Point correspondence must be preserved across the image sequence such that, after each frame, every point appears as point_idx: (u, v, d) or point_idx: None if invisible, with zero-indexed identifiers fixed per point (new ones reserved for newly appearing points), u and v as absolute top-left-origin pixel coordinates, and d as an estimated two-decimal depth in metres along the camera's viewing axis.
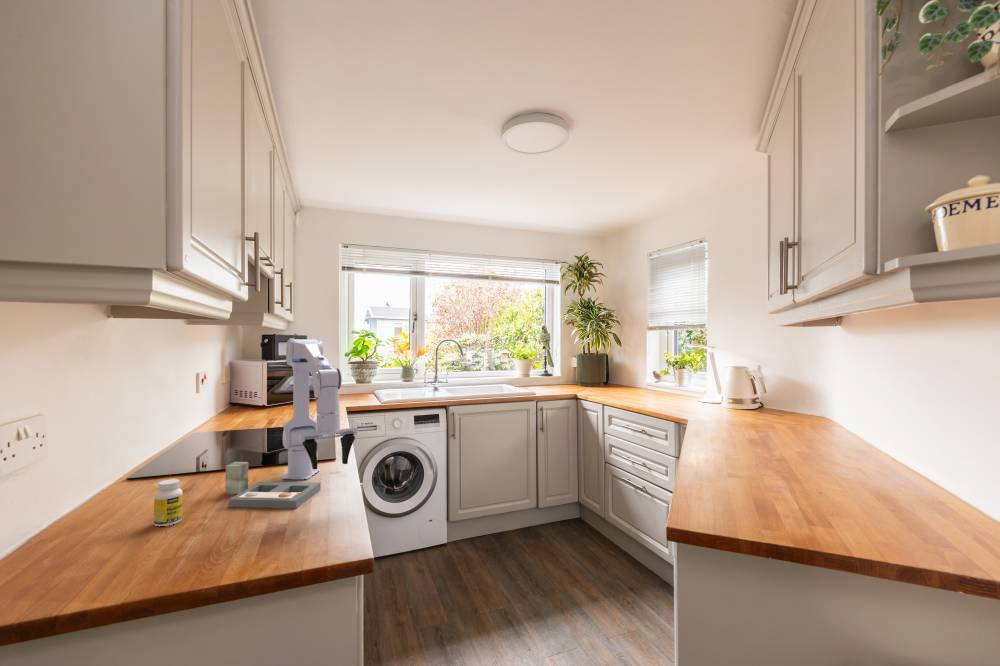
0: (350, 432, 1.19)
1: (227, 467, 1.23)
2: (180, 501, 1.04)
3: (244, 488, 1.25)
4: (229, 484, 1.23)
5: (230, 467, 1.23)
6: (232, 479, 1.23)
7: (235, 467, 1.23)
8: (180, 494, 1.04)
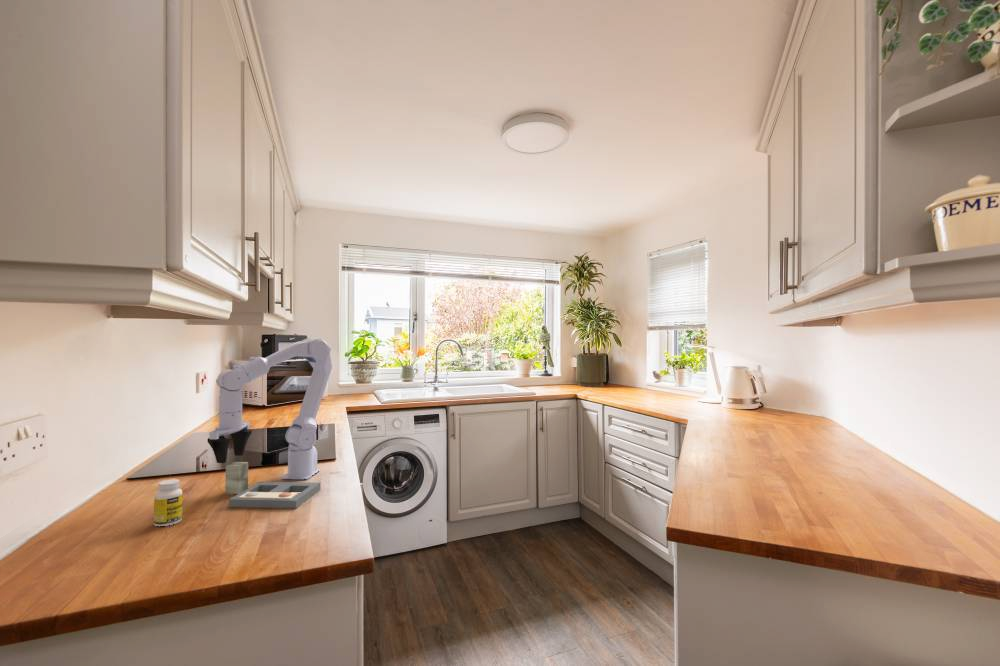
0: None
1: (227, 467, 1.23)
2: (180, 501, 1.04)
3: (244, 488, 1.25)
4: (229, 484, 1.23)
5: (230, 467, 1.23)
6: (231, 479, 1.23)
7: (235, 467, 1.23)
8: (180, 494, 1.04)
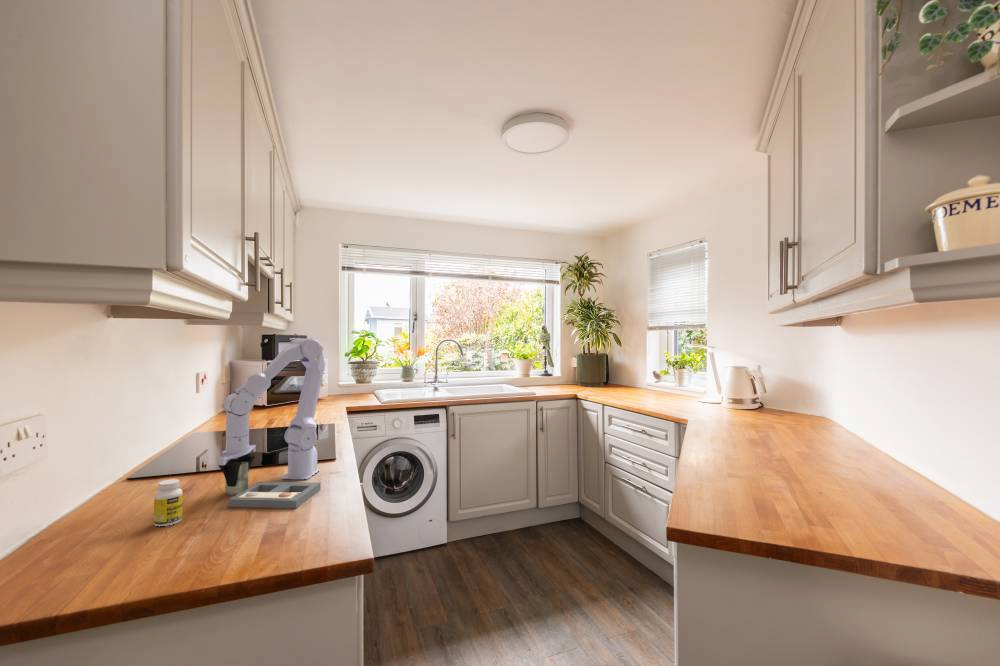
0: None
1: None
2: (180, 501, 1.04)
3: (244, 488, 1.25)
4: None
5: None
6: None
7: None
8: (180, 494, 1.04)
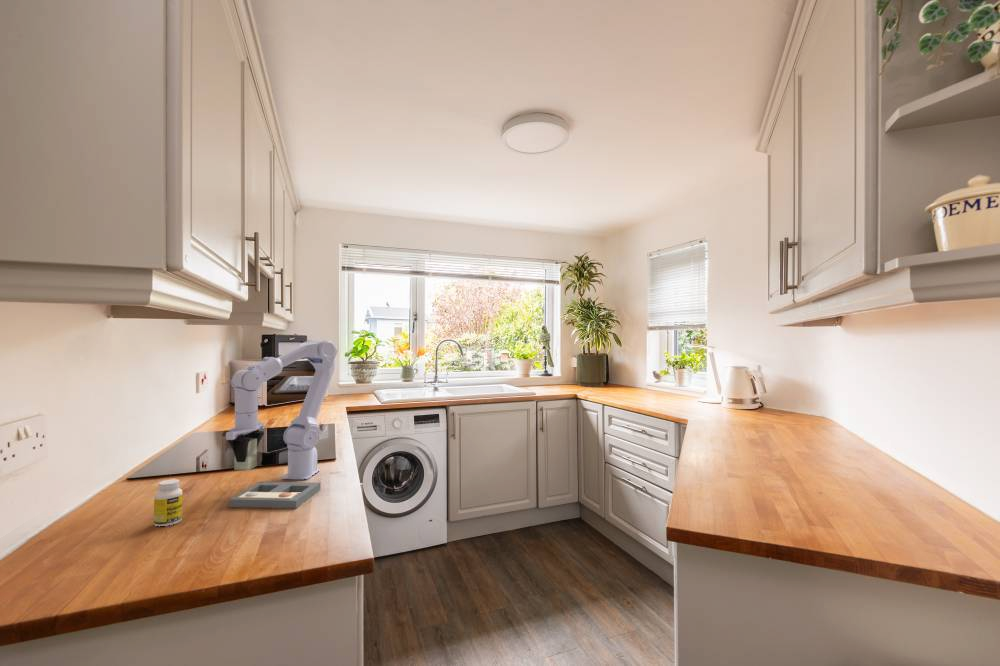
0: None
1: None
2: (180, 501, 1.04)
3: (253, 464, 1.25)
4: None
5: None
6: None
7: None
8: (180, 494, 1.04)
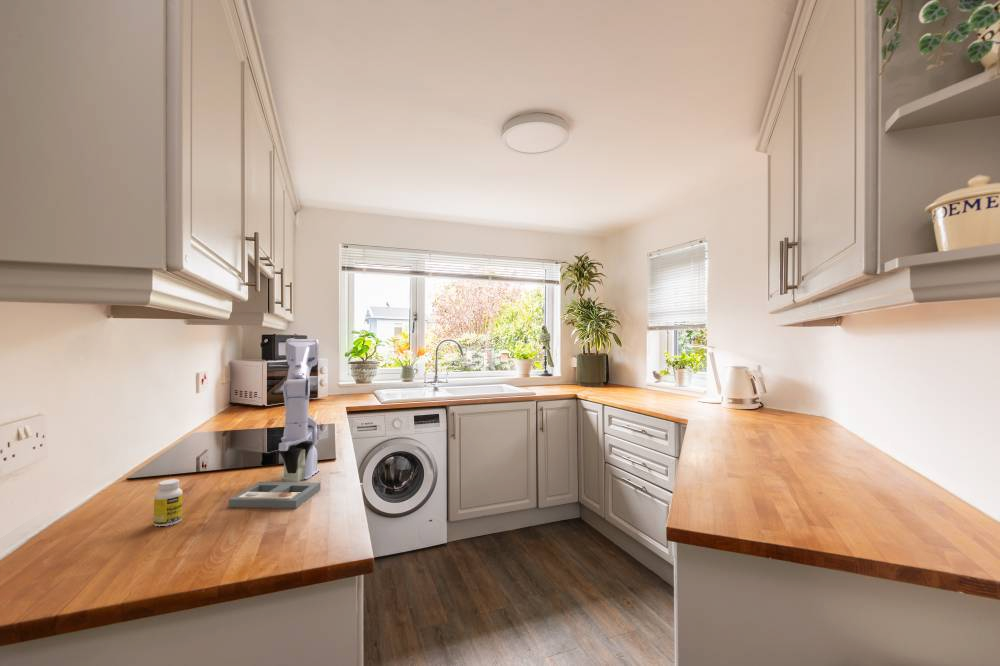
0: None
1: None
2: (180, 501, 1.04)
3: (302, 476, 1.22)
4: None
5: None
6: None
7: None
8: (180, 494, 1.04)
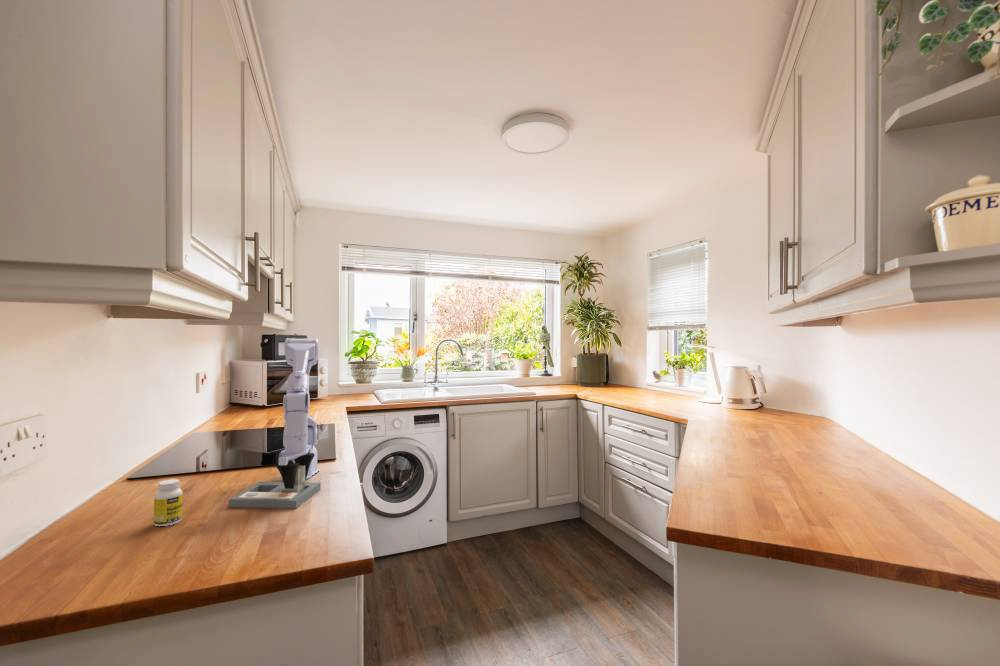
0: None
1: None
2: (180, 501, 1.04)
3: None
4: None
5: None
6: None
7: None
8: (180, 494, 1.04)
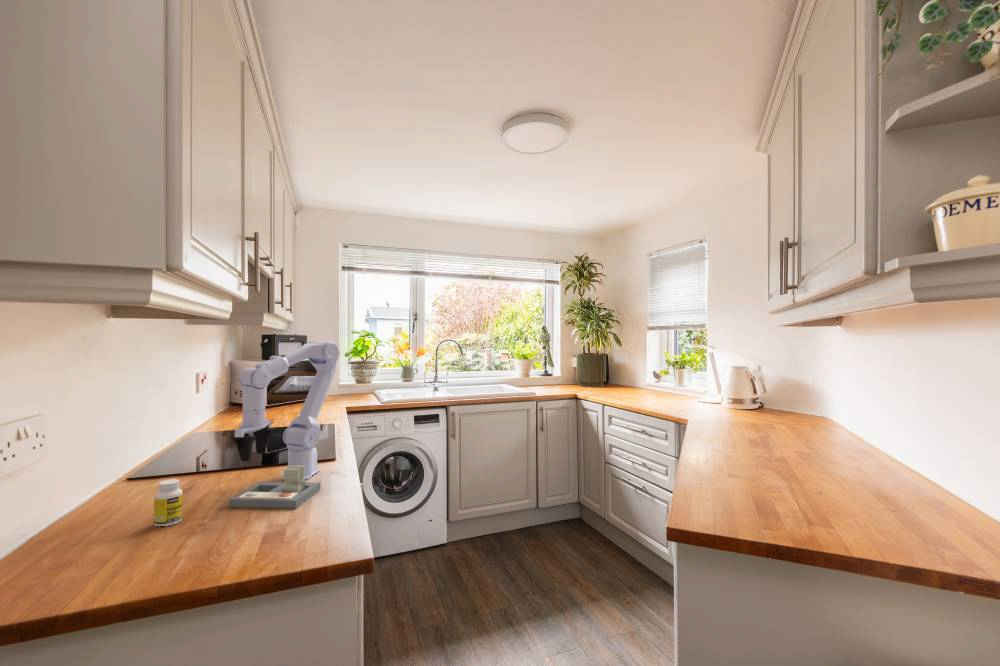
0: None
1: (285, 471, 1.20)
2: (180, 501, 1.04)
3: None
4: (287, 488, 1.20)
5: (288, 471, 1.20)
6: (290, 484, 1.20)
7: (294, 471, 1.20)
8: (180, 494, 1.04)
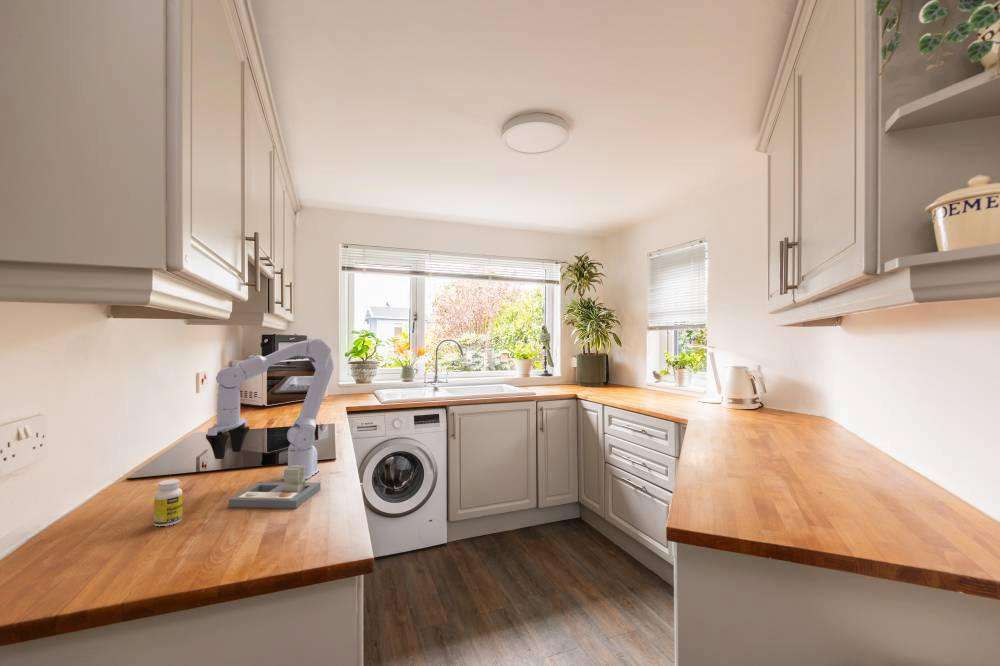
0: None
1: (285, 471, 1.20)
2: (180, 501, 1.04)
3: None
4: (287, 488, 1.20)
5: (288, 471, 1.20)
6: (290, 484, 1.20)
7: (294, 471, 1.20)
8: (180, 494, 1.04)
